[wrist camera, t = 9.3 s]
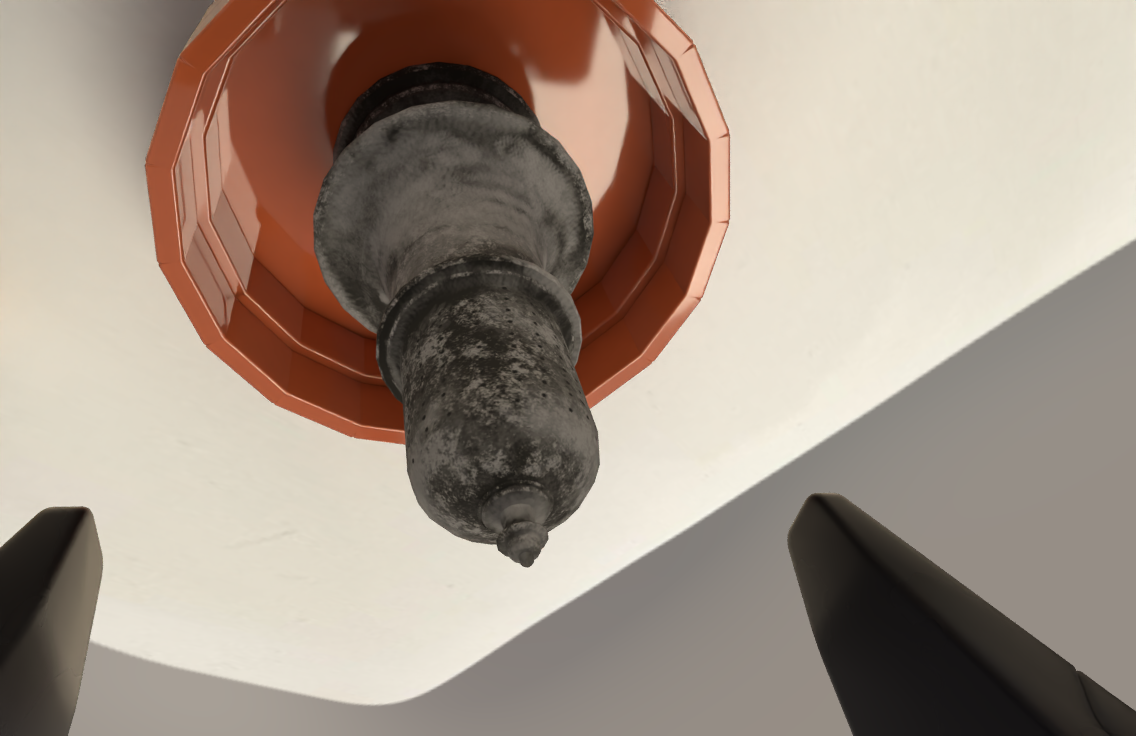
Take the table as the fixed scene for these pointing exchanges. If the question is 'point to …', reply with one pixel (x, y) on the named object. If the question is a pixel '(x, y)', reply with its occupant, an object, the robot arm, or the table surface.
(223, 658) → the table surface
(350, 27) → the bowl
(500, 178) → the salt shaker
